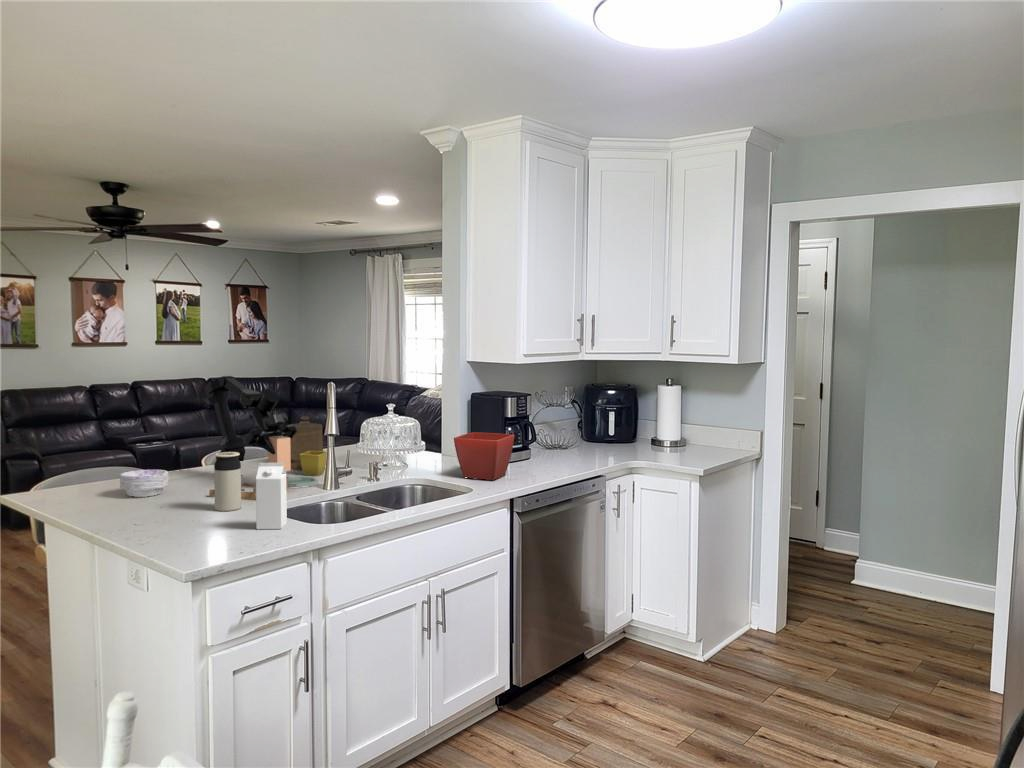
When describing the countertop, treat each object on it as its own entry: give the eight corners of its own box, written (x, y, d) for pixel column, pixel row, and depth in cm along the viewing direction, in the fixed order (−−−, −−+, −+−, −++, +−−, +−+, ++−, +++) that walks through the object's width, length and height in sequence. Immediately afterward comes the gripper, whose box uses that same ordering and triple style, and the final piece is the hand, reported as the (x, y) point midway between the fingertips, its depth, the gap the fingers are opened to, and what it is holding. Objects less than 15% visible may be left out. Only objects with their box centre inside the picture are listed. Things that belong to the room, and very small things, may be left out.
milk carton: (262, 523, 220) (261, 460, 219) (286, 523, 220) (286, 460, 219) (256, 529, 213) (255, 465, 212) (281, 529, 213) (280, 464, 212)
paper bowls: (159, 488, 267) (159, 466, 267) (175, 495, 257) (175, 472, 256) (114, 494, 257) (113, 471, 256) (128, 501, 246) (127, 478, 245)
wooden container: (307, 463, 323) (307, 413, 322) (330, 466, 314) (330, 415, 313) (279, 467, 311) (279, 416, 310) (302, 471, 302) (301, 418, 301)
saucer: (274, 486, 272) (274, 482, 272) (292, 480, 285) (292, 476, 285) (305, 488, 269) (305, 484, 269) (323, 482, 282) (323, 478, 282)
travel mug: (225, 512, 232) (224, 456, 231) (209, 509, 236) (208, 454, 235) (246, 508, 239) (245, 453, 238) (230, 504, 243) (230, 450, 242)
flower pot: (319, 477, 291) (319, 454, 290) (299, 476, 293) (299, 454, 292) (329, 473, 300) (329, 451, 299) (309, 472, 301) (309, 450, 301)
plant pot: (452, 479, 290) (452, 437, 289) (472, 471, 308) (473, 431, 306) (496, 483, 283) (497, 440, 282) (515, 475, 300) (515, 434, 299)
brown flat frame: (209, 496, 254) (209, 485, 254) (244, 485, 275) (244, 474, 274) (256, 500, 250) (256, 488, 250) (288, 488, 270) (288, 477, 270)
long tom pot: (268, 470, 268) (267, 436, 267) (281, 468, 272) (281, 435, 271) (277, 472, 264) (277, 438, 263) (290, 470, 269) (290, 436, 268)
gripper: (249, 407, 262) (268, 441, 256) (294, 404, 276) (312, 436, 270) (237, 427, 267) (255, 461, 261) (281, 423, 282) (299, 454, 276)
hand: (281, 452), depth 267 cm, fingers closed on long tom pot, 6 cm apart
